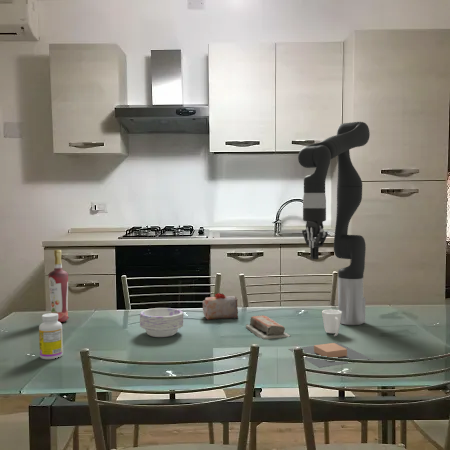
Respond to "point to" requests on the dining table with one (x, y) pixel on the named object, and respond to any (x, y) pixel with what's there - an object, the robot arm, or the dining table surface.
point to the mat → (324, 363)
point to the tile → (330, 350)
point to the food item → (220, 307)
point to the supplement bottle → (50, 337)
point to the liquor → (59, 289)
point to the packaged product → (266, 328)
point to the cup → (331, 320)
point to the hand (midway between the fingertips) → (314, 258)
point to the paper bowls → (161, 321)
